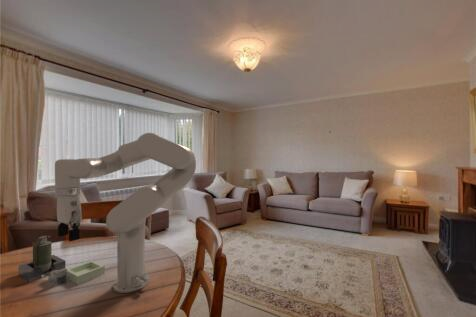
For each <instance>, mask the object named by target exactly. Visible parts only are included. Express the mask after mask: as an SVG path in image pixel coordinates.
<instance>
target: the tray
mask: <svg viewBox="0 0 476 317" xmlns="http://www.w3.org/2000/svg"><path fill="white" fill-rule="evenodd" d="M66 269H67V268H66ZM105 272H106V271H105V265H104V264H101V263H99V262H96V261H94V260H90V261H87V262H84V263H82V264H79V265H75V266H73V267H70V268H68V269H67V281H68V280H69V281H70V282H72V283H73V284H76V285H77V286H79V285H81V284H84V283H86V282H88V281H91V280H93V279H95V278H97V277H100V276H103V275H105V274H106V273H105Z"/></svg>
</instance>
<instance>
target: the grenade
mask: <svg viewBox="0 0 476 317" xmlns="http://www.w3.org/2000/svg"><path fill="white" fill-rule="evenodd" d="M50 237H51V235H42V236H39V237H37V238H36V239H35V240H34V241H32V242H31V245H32V261H33V265H34V269H36V268H39V267H40V268H42V276H43V275H48V273H49V272H52V271H53V268H52V262H51V255H52V241H50V240H48V239H49V238H50ZM34 242H35V243H34Z"/></svg>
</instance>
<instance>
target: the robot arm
mask: <svg viewBox="0 0 476 317" xmlns="http://www.w3.org/2000/svg"><path fill="white" fill-rule="evenodd" d="M150 160H152V161H155V162H158V163H160V164H162V165H165V166H167V167H170V168H171V169H170V170H169V171H168V172H166V173H165V174H163V175H162V176H161V177H160V178H158V179H157V180H155V181H154V182H152V183H151V184H148V185H145V186H143V187H140V188H139V189H137V190H136V191H134V192H133V193H132V194H130V195H129V196H127V197H126V198H125V199H124V200H122V201H121V202H119V203H118V204H117V205H116V206H114V207H113V208H112V209H110V211H109V212H108V214H107V216H106V218H105V219H106V220H105V225H106V227H107V229H108V230H109V231H110V232H111V233H114V234H117V241H116V242H117V244H116V246H117V248H116V250H117V251H116V252H117V254H116V255H117V256H116V259H117V264H116V265H117V274H116V276H117V278H116V280H114V282H113V283H112V289H113V291H114V292H116V293H121V294H124V293H125V294H126V293H132V292H135V291H138V290H141V289H143V288H145V287H146V286H147V285H148V284H149V282H150V277H149V275H148V274H147V271H145V270H146V262H145V261H146V252H145V251H146V250H145V246H146V245H145V243H146V241H145V240H146V222H147V218H148V217H150V216H151V215H153V214H154V213H155V212H156V211H157V210H159V209H161V207H162V206H163V205H164V204H165V203H166V202H167V201H168V200H170V199H171V198H172V197H174V196H175V195H176V194H177V193H178V192H180V191H181V190H182V189H184V187H186V185H188V183H189V182H191V180H192V178H193V177H194V175H195V172H196V168H197V161H196V157H195V154H194V152H193V150H191V149H190V148H189V147H186V146H184V145H181V144H178V143H176V142H174V141H171V140H169V139H166V138H164V137H163V136H160V134H156V133H154V132H146V133H143V134H141V135H140V136H138V138H137V139H136V140H134V141H130V142H128V143H125V144H121V145H119V147H118V149H117V150H116V151H115V152H112V153H110V154H107V155H103V156H101V157H98V158H96V157H95V158H94V157H93V158H91V157H87V158H86V157H85V158H79V159H77V158H76V159H75V158H69V159H68V158H67V159H66V158H64V159H57V160H56V161H55V162H54V197H55V198H57V200H56V221H57V237H59V238H60V237H63V236H67V235H68V241H69V242H73V241H77V240H80V228H81V226H80V225H81V221H82V220H83V216H82V204H81V203H82V202H81V197H80V195H81V179H82V180H87V179H93V178H99V177H103V176H106V175H110V174H112V173H115V172H118V171H120V170H123V169H126V168H129V167H132V166H134V165H137V164H139V163H144V162H145V161H150Z"/></svg>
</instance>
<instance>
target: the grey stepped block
mask: <svg viewBox="0 0 476 317" xmlns="http://www.w3.org/2000/svg"><path fill="white" fill-rule="evenodd" d="M47 275H48V276H47V280H48V281H49V282H50V283H52V284H53V286H55V287H58V286H60V285H63V284H65V283H68V279H67V268H66V267H65V268H63V269H60V270H54V271H53V270H52V271H51V272H49V273H47Z"/></svg>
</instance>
